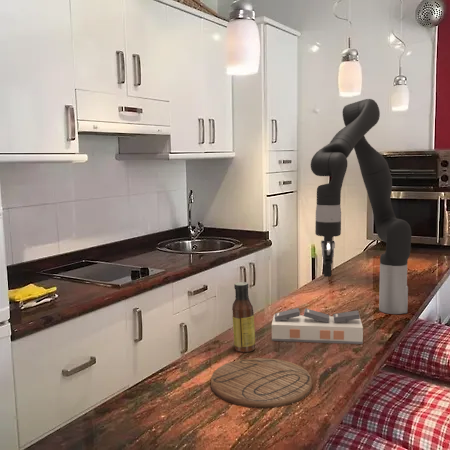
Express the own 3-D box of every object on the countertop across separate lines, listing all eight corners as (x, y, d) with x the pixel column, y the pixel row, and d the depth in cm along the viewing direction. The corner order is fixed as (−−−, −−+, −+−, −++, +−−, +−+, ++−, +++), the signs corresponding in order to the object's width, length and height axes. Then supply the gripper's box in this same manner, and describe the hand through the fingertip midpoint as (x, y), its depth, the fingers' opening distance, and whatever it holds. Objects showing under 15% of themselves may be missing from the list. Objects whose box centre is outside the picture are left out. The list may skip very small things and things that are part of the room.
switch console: (359, 332, 164) (359, 317, 164) (362, 344, 154) (363, 328, 154) (274, 329, 169) (274, 314, 168) (271, 340, 159) (271, 325, 158)
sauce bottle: (257, 346, 154) (256, 281, 152) (252, 354, 148) (250, 286, 146) (236, 344, 156) (235, 280, 154) (230, 351, 151) (228, 285, 148)
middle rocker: (327, 320, 162) (329, 314, 162) (327, 324, 158) (329, 318, 158) (303, 313, 163) (305, 307, 163) (303, 317, 159) (305, 311, 159)
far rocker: (300, 313, 164) (298, 307, 163) (299, 317, 160) (298, 311, 159) (276, 318, 165) (275, 313, 165) (276, 322, 161) (274, 317, 161)
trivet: (190, 385, 130) (190, 378, 130) (257, 357, 147) (257, 350, 147) (265, 421, 112) (265, 412, 112) (331, 383, 130) (331, 376, 129)
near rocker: (358, 315, 161) (357, 310, 160) (360, 320, 157) (359, 314, 156) (334, 319, 162) (333, 313, 162) (334, 323, 158) (333, 317, 158)
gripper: (342, 222, 149) (341, 281, 151) (339, 217, 162) (338, 271, 164) (315, 222, 150) (315, 281, 152) (315, 216, 163) (314, 271, 165)
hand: (327, 276), depth 158 cm, fingers closed
